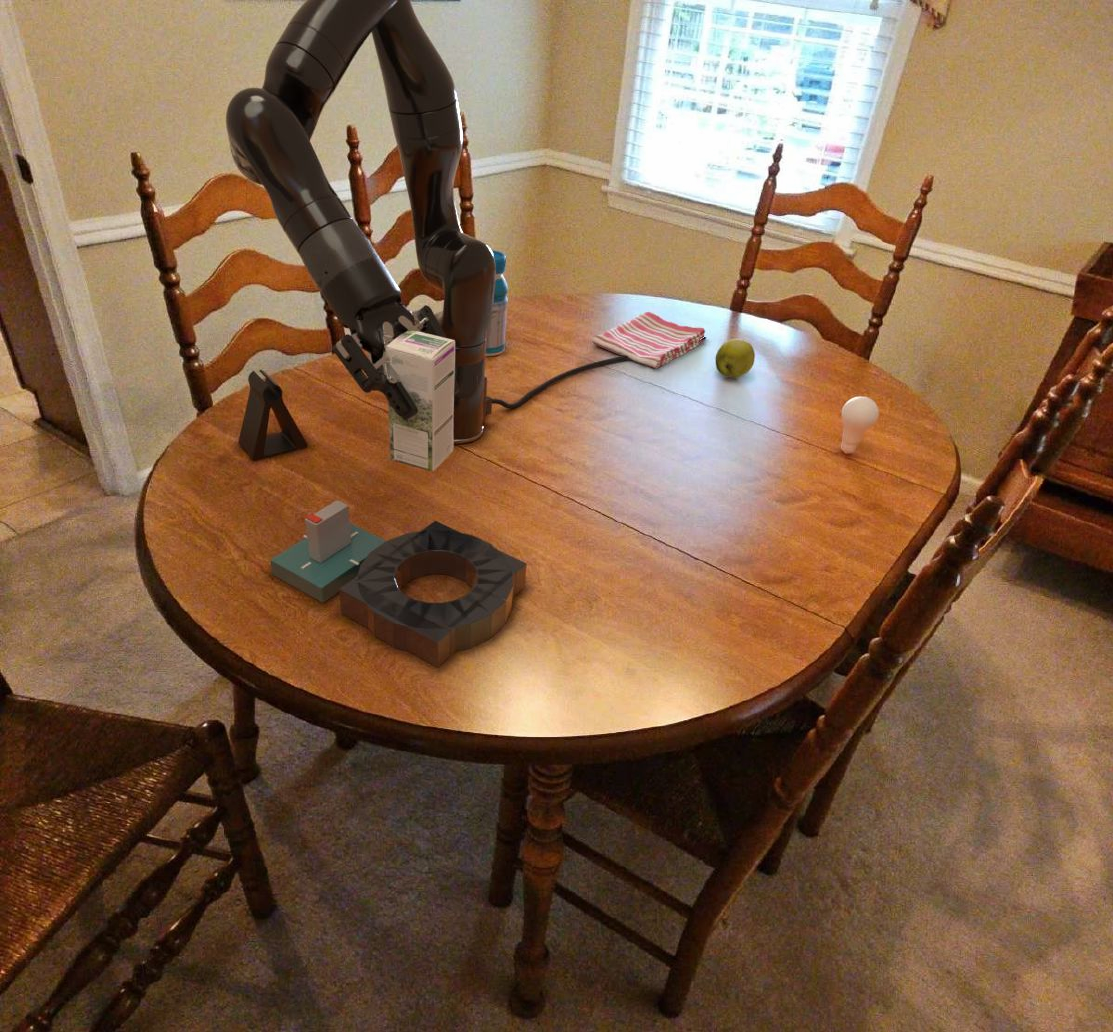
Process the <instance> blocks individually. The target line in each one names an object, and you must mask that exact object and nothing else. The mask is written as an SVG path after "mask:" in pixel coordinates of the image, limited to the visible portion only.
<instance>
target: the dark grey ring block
mask: <svg viewBox="0 0 1113 1032" xmlns="http://www.w3.org/2000/svg"><path fill="white" fill-rule="evenodd" d="M430 575H446V576H449V577H454V578H456V579H459V580H461V581H462V582H465V583H466V584H467V585H468V586H469V587H470V588H471V590H469V592H467V593H466V594H465V595H463V596H461V597H458V598H456V599H454V600H450V601H444V602H426V601H422V600H417V599H414V598H412V597H410V596H408V595H407V594H405V593H404V592H403V591H402V590H401V589H402V588H403V587H404V586H405V585H406V584H408V583H409V582H410V581H412V580H413V581H414V580H415V579H417V578H420V577H423V576H425V577H426V576H430ZM526 577H527V562H525V561H523V560H521V559H518V558H517V557H515V556H512V555H510V554H508V553H506V552H504V551H501V550H499V549H498V548H497V547H496V546H494V545H493V544H492V543H490V542H488V541H486V540H484V539H482V538H480V537H478V536H475V535H473V534H469V533H466V532H465V533H464V532H461V531H459V530H456V529H455V528H452V527H450V526H448V525H446V524H443V523H442V522H440V521H438V520H434V521H432V522H431V523H430V524H428V525H427V526H426V527H424V528H423V529H421V530H419V531H413V532H406V533H404V534H401V535H399V536H396V537H393V538H390V539H388V540H386V542H384V543H383V544H381V545H380V546H379V547H377V548H376V549H374V550H373V551H371V552H370V553H369V554H368V556H367V557H366V558H365V560H364V561H363V562H362V564H361V565H360V567H359V572H358V576H356V577H355V578H354V579H352V580H351V581H349V582H348V583H347V584H345V585H344V586H342V587H341V588H340V589H339V592H338V593H339V600H340V601H339V605H340V613H341V615H342V616H345V617H346V618H348V619H350V620H351V621H354V622H356V623H357V624H359V625H361V626H362V627H364V628H366V629H368V630H369V631H370V632H371V634H372V635H373V636H374V637H375V638H376V639H378V640H381V641H382V642H384V643H386V644H388V645H389V646H391V647H393V648H395V649H399V650H403V651H406V652H409V653H410V654H412V655H414V656H416V657H418V658H420V659H421V660H423V661H425V662H427V663H429V664H430V665H432V666H434V667H435V668H439V667H440V666H441V665H442V664H443V663H444V662H445V661H446V660H448V658H450V657H451V656H452V655H453V654H454V653H456V652H461V651H465V650H469V649H472V648H474V647H475V646H478V645H480V644H481V643H484V642H486V641H488V640H490V639H491V638H492V637H493V636H494V635H495V634H496V633H498V631H499V630H501V629H502V628H503V627H504V625H506V622H507V620H508V618H509V615H510V613H511V611H512V609H513V608H512V607H513V598H514V597H515V596H517V595H518V594H519V593H520V592H521V591H522V590H523V589H524V588H525V586H526Z"/></svg>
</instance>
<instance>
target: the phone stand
mask: <svg viewBox="0 0 1113 1032" xmlns="http://www.w3.org/2000/svg"><path fill="white" fill-rule="evenodd" d="M258 371H259V372H260V373H261V375H262V376H263V377H264V378H265V380H264V379H263V378H262V377H261V376H260V375H259V374H258V373H257V372H256V371H255V370H252V371H251V372H250V373H249V375H248V377H247V381H248V384H249V393H248V397H247V402H246V406H245V411H244V416H243V420H242V424H241V429H240V433H239V437H238V445H240V447H241V448H242V449H243V451H244V452H245V453H246V454H247V455H248V457H249V458H250V459H251V461H253V462H255V461H260V460H263V459H264V460H265V459H268V458H271V457H276V456H278V455H280V454H282V455H283V454H286V453H290V452H295V451H299V450H302V449H306V448H308V446H309V445H308V443H307V441H306V439H305V438H304V436H303V434H302V432H301V431H300V428H299V426H298V425H297V423H296V421H295V420H294V418H293V416H292V415H291V412H290V411H289V409H288V408H287V406H286V404H285V401H284V399H283V388H282V387H281V386H280V385H279V384H278V383H277V382H276V381H275V380H274V379H273V378H272V377H271V376H270V375H269V374H268V373H267V372H266V371H264V370H263V369H259V370H258ZM271 410H272V412H273V415H274V417H275V419H276V421H277V423H278V426H279V428H280V430H281V431H280V432H276V433H272V434H268V428H269V427H268V426H269V422H270V421H269V420H270V413H271ZM267 434H268V435H267Z"/></svg>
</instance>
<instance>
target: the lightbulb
mask: <svg viewBox="0 0 1113 1032" xmlns="http://www.w3.org/2000/svg"><path fill="white" fill-rule="evenodd" d="M879 415H880V410H879V407H878V405H877V402H875V401H874V400H873V399H871V398H870V397H868V396H855V397H853V398H852V397H851V398H850V399H849V400H848V401H846V402H845V404H844V405H843V407H842V409H841V421H842V425H843V432H842V436H841V439H842V440H841V444H840V450H841V451H842V452H843V453H844V454H845V455H849V454H853V453H855V451H856V449H857V447H858V444H859V443H861V440H862V438H863V437H864V435H865V434H866V433H867V432H868V431H869V430H871V428H873V427H874V426H875V425H876V423H877V422H878V420H879V417H880V416H879Z"/></svg>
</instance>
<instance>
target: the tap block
mask: <svg viewBox="0 0 1113 1032" xmlns="http://www.w3.org/2000/svg"><path fill="white" fill-rule="evenodd" d="M350 531H351V543H350V544H349V545H347V546H346V547H344V548H343V549H341V550H340V551H338V552H337V553H335V554H334V555H332V556H331V557H329V558H328V559H326V560H325V561H323V562H321V563H319V562H317V561H315V560H314V559H312V558H310V557H309V551H308V542H307V534H303V535H302V538H303V539H301V540H300V541H297V542H295V544H293V545H291V546H289V547H288V548H287V549H285V550H283V551H281V552H280V553H278V554H277V555H275V556H274V557H272V558H270V560H269V562H270V568H271V575H272V576H274V577H275V578H277V579H279V580H281V581H283V582H284V583H286V584H288V585H290V586H292V587H293V588H295V589H297V590H299V591H301V592H302V593H304V594H306V595H308V596H310V597H311V598H312V599H315V600H316V601H318V602H320V603H321V604H324V603H326V602H327V601H328V600H330V599H332V598H333V597H335V596H336V595H337V594H338V593H339V589H340V588H341V587H342V586H344V585H345V584H347V583H348V582H349V581H351V580H352V579H354V578H355V577H356V576H358V572H359V567H360V565H361V564H362V562H363V561H364V560H365V558H366V557H367V556H368V554H369V553H370V552H371V551H373V550H374V549H376V548H377V547H379V546H380V545H381V544H383V543H384V542H386V541H387V540H386V539H384V538H382V537H380V536H378V535H376V534H374V533H372V532H370V531H368V530H366V529H364V528H362V527H360V526H358V525H356V524H354V523H352V522H350Z"/></svg>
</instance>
